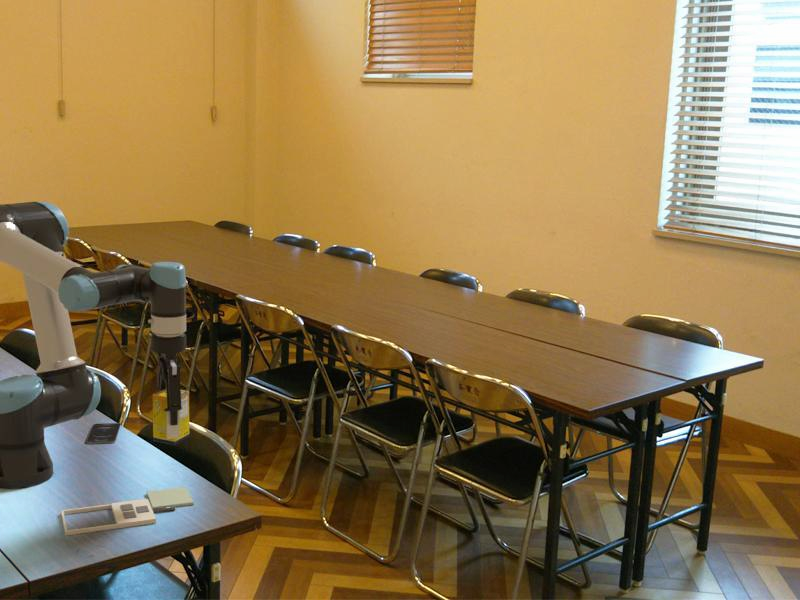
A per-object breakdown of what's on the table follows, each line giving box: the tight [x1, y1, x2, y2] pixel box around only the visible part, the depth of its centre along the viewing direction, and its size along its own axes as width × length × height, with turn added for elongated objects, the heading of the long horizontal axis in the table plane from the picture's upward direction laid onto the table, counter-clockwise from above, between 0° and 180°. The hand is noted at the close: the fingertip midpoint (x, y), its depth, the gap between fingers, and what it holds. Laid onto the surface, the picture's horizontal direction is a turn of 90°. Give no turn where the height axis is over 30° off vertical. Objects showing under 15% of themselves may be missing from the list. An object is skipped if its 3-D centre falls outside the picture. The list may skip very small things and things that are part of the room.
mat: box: [146, 486, 195, 509], centre depth 217 cm, size 9×9×1 cm
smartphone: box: [85, 422, 122, 445], centre depth 256 cm, size 8×1×15 cm
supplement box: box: [152, 389, 190, 445], centre depth 213 cm, size 6×6×11 cm
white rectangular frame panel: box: [60, 498, 176, 536], centre depth 207 cm, size 11×24×1 cm, turn 113°
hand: (169, 431), depth 213 cm, fingers closed on supplement box, 8 cm apart
